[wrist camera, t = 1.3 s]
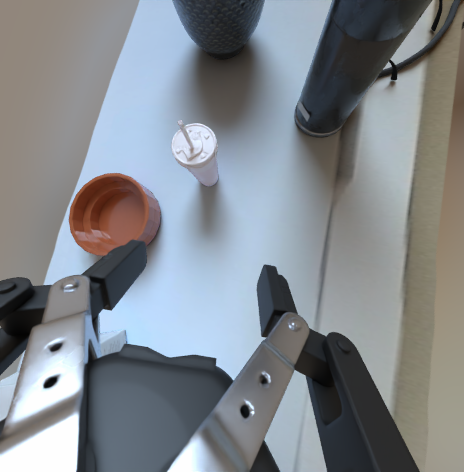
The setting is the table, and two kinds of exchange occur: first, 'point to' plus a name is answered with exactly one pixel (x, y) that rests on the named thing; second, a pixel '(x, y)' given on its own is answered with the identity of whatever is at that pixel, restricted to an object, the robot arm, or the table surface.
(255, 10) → the planter
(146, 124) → the table surface
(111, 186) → the bowl
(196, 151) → the smoothie
